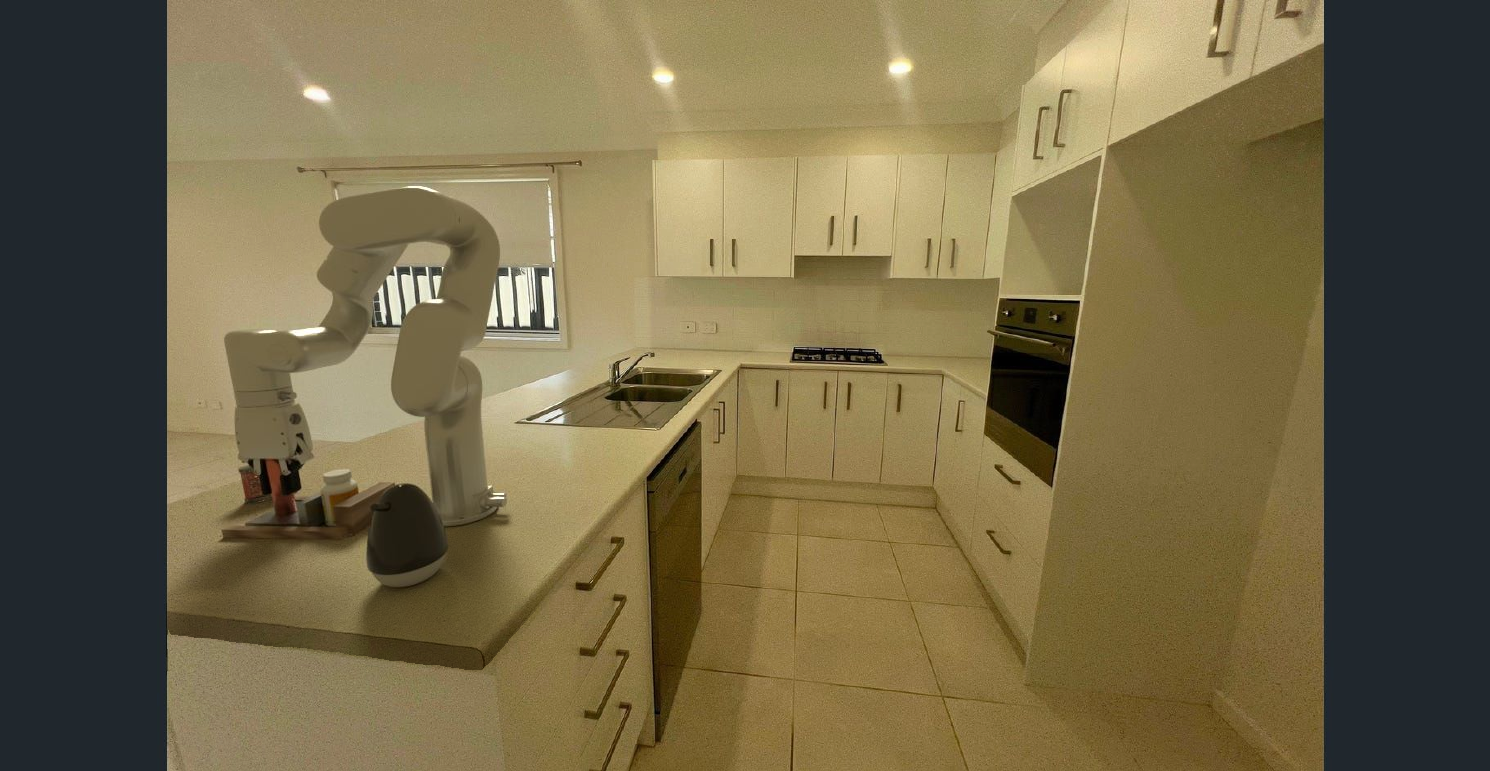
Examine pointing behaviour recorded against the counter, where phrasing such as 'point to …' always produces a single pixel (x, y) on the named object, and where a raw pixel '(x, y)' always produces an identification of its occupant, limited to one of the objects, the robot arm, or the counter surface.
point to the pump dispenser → (405, 537)
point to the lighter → (252, 485)
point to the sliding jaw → (288, 505)
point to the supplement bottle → (336, 491)
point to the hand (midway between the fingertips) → (282, 491)
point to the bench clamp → (348, 522)
